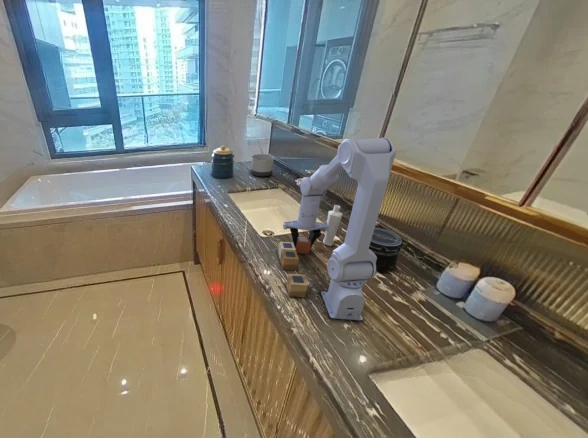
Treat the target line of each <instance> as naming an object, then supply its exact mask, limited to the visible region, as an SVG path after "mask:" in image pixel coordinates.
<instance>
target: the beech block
mask: <svg viewBox="0 0 588 438" xmlns="http://www.w3.org/2000/svg"><path fill="white" fill-rule="evenodd" d="M279 261H280V266H281V269H282V270H283V271H284V270H285V271H297V270H298V265H299V261H300V259H299V255H298V253H297V252H296V251H288V250H282V254H281V260H280V259H279Z"/></svg>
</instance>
